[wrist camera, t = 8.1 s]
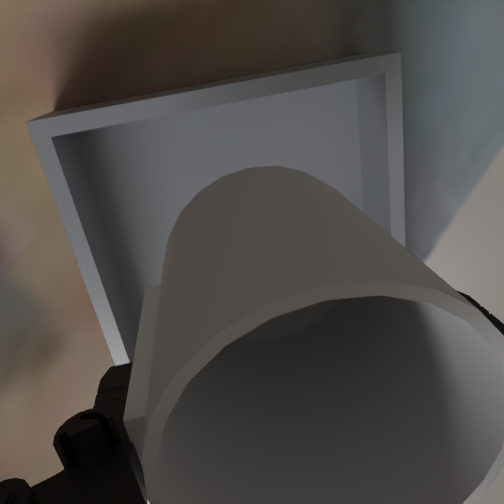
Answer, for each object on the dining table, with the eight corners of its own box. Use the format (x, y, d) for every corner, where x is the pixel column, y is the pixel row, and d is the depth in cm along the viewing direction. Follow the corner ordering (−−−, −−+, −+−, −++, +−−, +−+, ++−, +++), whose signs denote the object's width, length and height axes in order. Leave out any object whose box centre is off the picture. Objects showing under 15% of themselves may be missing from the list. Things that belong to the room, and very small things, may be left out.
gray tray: (53, 111, 23) (25, 122, 19) (364, 53, 24) (401, 52, 20) (165, 440, 33) (162, 493, 29) (382, 388, 34) (409, 433, 30)
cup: (319, 125, 15) (486, 203, 7) (399, 345, 19) (561, 561, 11) (125, 217, 15) (55, 401, 7) (245, 414, 19) (289, 674, 11)
